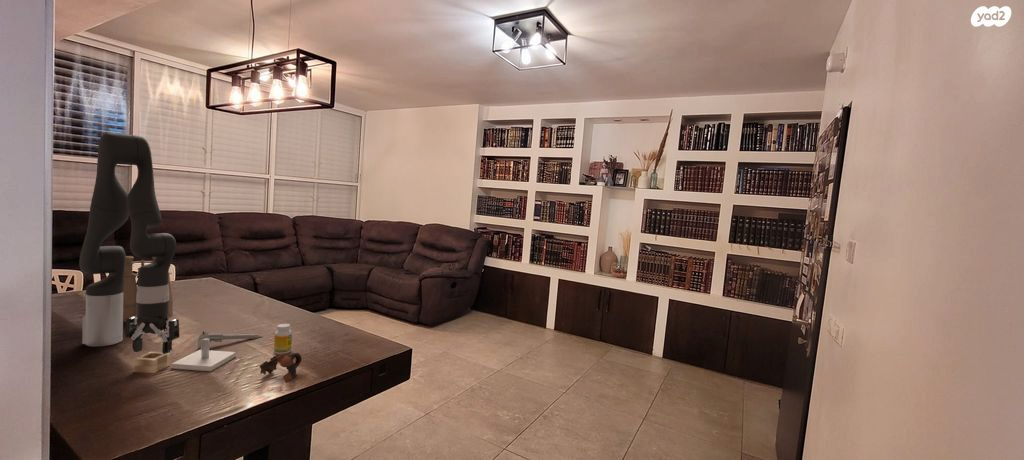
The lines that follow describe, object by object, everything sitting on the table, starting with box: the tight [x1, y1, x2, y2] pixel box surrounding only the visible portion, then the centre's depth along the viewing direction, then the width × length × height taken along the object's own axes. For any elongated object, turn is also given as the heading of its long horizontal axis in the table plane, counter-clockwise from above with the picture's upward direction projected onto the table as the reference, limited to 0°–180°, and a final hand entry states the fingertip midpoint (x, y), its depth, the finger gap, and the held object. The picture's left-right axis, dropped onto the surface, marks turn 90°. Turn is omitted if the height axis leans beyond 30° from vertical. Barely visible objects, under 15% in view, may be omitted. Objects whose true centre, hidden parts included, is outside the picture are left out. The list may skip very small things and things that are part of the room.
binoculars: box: [123, 255, 175, 323], centre depth 171 cm, size 21×10×25 cm, turn 134°
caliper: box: [197, 330, 263, 350], centre depth 153 cm, size 20×1×6 cm, turn 143°
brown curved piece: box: [259, 352, 302, 383], centre depth 131 cm, size 12×10×8 cm
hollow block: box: [133, 351, 171, 374], centre depth 128 cm, size 6×6×4 cm
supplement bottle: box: [273, 323, 293, 355], centre depth 149 cm, size 5×5×10 cm
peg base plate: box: [170, 338, 237, 372], centre depth 135 cm, size 12×12×8 cm
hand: (152, 352), depth 127 cm, fingers open, 8 cm apart
